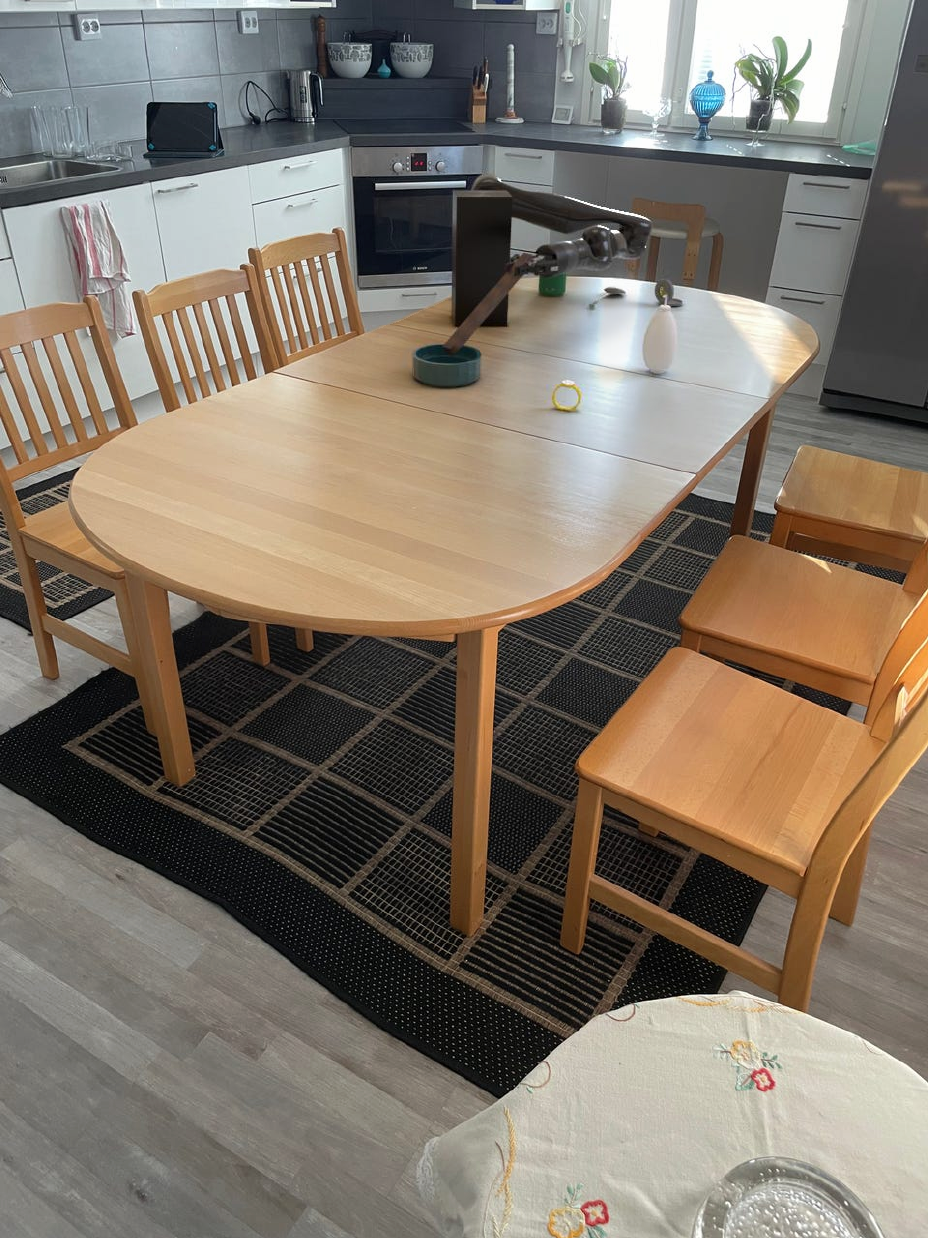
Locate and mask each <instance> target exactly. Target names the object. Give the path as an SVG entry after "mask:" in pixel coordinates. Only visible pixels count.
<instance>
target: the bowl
mask: <svg viewBox="0 0 928 1238" xmlns="http://www.w3.org/2000/svg"><path fill="white" fill-rule="evenodd" d="M444 344H445V343H431V344H425V345H422V346H419V347H417V348H416V349H413V351H412V352H411V374H412V377H413V378H414V379H416V380H417V381H419V382H420V383H422V384H425V385H427V386H431V387H437V388H457V387H464V386H467V385H470V384H473V383H474V382H476V381H477V380H479V379H480V378H481V376H482V357H483V356H482V355H483V354H482V352H481V351H480V350H479V349H477V348H475V347H473V346H469V345H466V344H464V345H463V346H462V347H461V348H460V349H459V351H458V352H457V353H456V354H455V355H454V356H450V355H446V354H445V351H444V349H443V347H442V346H443V345H444Z"/></svg>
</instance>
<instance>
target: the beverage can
mask: <svg viewBox="0 0 928 1238" xmlns="http://www.w3.org/2000/svg"><path fill="white" fill-rule="evenodd" d="M567 275H568V273H565V274H561V275H557V276H554V277H550V278H545V277H542V276H540V275H538V292H539V295H541V296H542V297H549V298H559V297H563V296H564V294H565V293H566V286H567Z"/></svg>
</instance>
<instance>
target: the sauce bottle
mask: <svg viewBox="0 0 928 1238" xmlns="http://www.w3.org/2000/svg"><path fill="white" fill-rule="evenodd" d="M665 297H666V298H665ZM665 297H664V298H665V304H664V305H662V304H660V305H659V307H658V310H656V312H655V313H654V315H652V317H651V319H650V321H649V323H648V325H647V328H646V330H645V333H644V336H643V341H642V358H643V362H644V365H645V367H646V368H647V369H648V370H649V372H650V373H652V374H655V375H660V374H662V373H665V370H668V369H670V367H671V366H672V364H673V362H674V360H675V358H676V356H677V351H678V346H679V332H678V327H677V322H676V319H675V316H674V314H673V312H672V311H671V310H672V306H668V305H667V293H666V295H665Z"/></svg>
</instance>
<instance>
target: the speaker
mask: <svg viewBox="0 0 928 1238" xmlns="http://www.w3.org/2000/svg"><path fill="white" fill-rule="evenodd" d="M512 202H513V197H512V196H511V195H510V194H509V192H508V191H481V190H471V189H470V190H455V189H454V190H452V223H451V224H452V225H451V226H452V228H451V229H452V230H451V231H452V233H451V234H452V235H451V236H452V237H451V315H450V316H451V320H452V322H453V325H454V327H455V328H459V327H460V326H461V324H462V323H463V322H464V321H465V320H466V319H467V317H468V316H469V315H470V314H471V313H472V312H473V311H474V309H475V308H476V307H477V306H478V305H479V304H480V302H481V301H482V300H483V299H484V298H485V297H486V296H487V294H488V293H489V292H490V291H491V290H492V289H493V287H494V286H495V285H496V284H497V283H498V282H499V281H500V279H501V278H502V277H503V276H504V275H505V264H507V263H510V258H511V246H512V245H511V244H512V224H513V222H512V221H513V217H512ZM509 293H510V291H509V292H508V294H507V295H506V296H505V297H504V298H503V299H502V301H501V302H500V303H499V304H498V305H497V306H496V308H495V309H494V310H493V311H492V312H491V313H490V315H489V316H488V317H487V318H486V319H485V320H484V322H483V323H482V324H481V325H480V326H479V327H478V328H495V327H496V328H497V327H498V328H499V327H508V319H509V318H508V315H509V296H510V295H509Z"/></svg>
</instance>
